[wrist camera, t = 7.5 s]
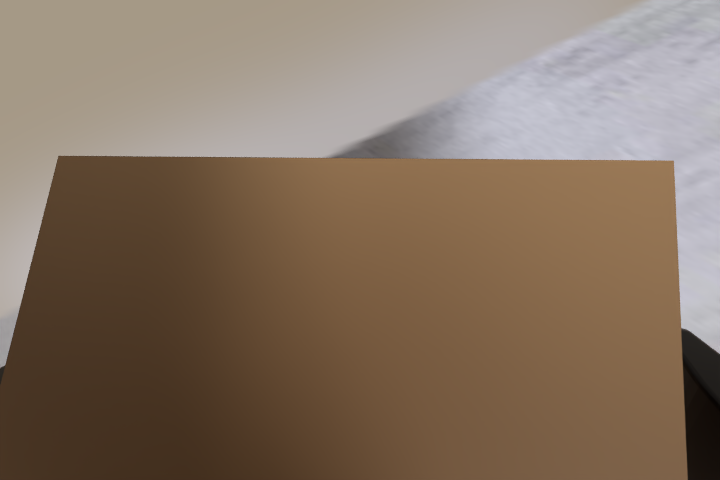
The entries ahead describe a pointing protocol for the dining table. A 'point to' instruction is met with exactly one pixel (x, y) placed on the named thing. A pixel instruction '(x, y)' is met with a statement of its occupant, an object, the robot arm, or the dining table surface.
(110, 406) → the walnut block
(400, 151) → the dining table surface
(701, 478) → the robot arm
